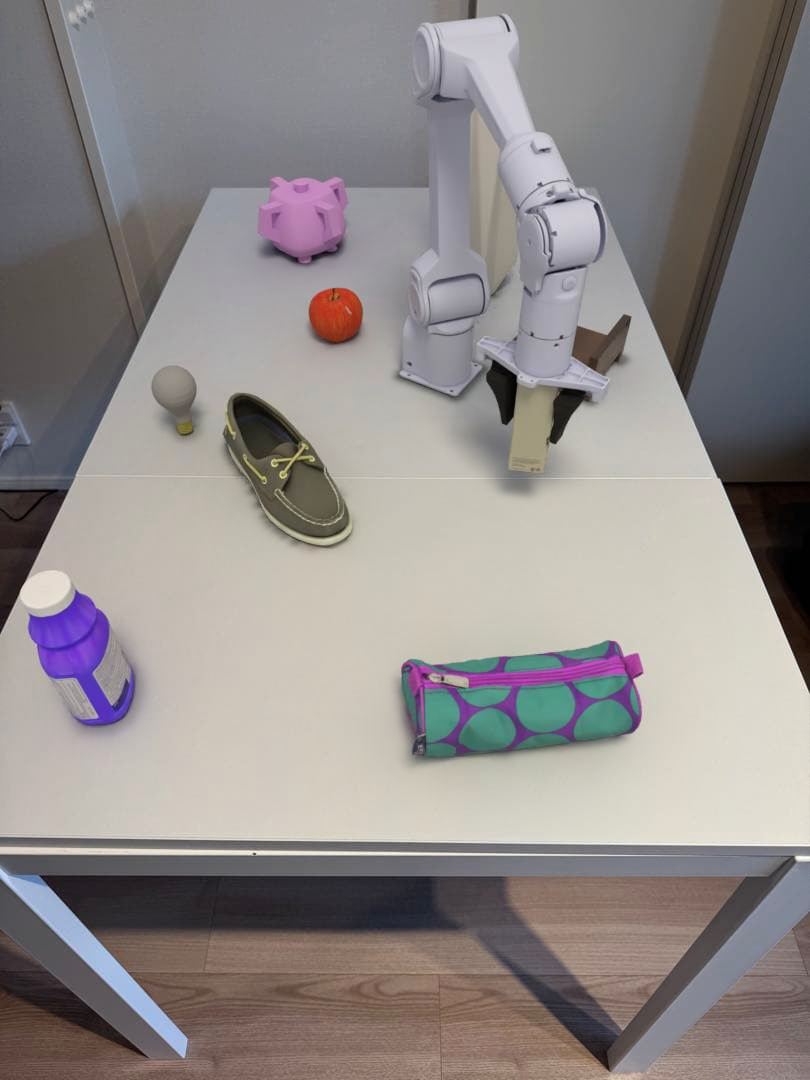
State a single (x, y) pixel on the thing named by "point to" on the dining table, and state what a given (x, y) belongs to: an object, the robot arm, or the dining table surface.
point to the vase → (490, 206)
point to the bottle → (77, 649)
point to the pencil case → (522, 700)
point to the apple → (336, 314)
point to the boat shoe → (285, 472)
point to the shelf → (599, 346)
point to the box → (531, 428)
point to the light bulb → (176, 394)
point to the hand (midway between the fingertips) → (531, 428)
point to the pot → (304, 216)
